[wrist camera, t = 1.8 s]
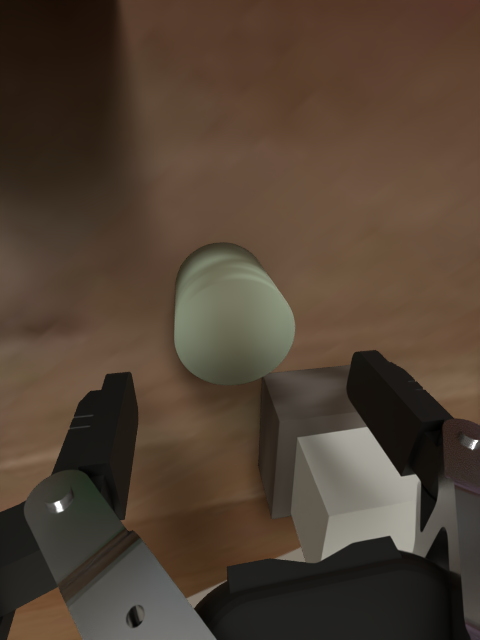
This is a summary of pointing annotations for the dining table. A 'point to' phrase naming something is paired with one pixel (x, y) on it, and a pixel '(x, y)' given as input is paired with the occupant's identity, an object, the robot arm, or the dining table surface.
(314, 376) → the base block
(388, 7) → the dining table surface
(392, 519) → the top block
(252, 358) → the sage cylinder
